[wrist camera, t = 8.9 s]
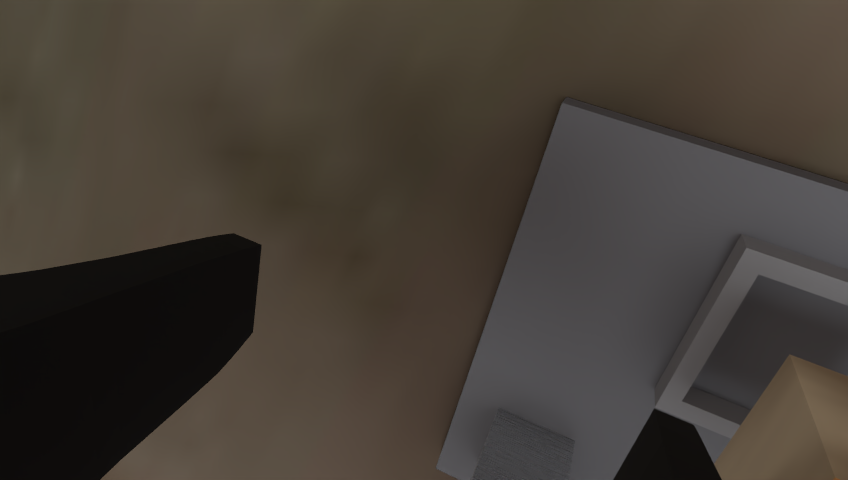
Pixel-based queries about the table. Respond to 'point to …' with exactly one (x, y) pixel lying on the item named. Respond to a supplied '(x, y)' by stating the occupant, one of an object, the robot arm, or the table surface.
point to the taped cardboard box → (793, 428)
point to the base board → (654, 291)
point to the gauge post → (523, 451)
